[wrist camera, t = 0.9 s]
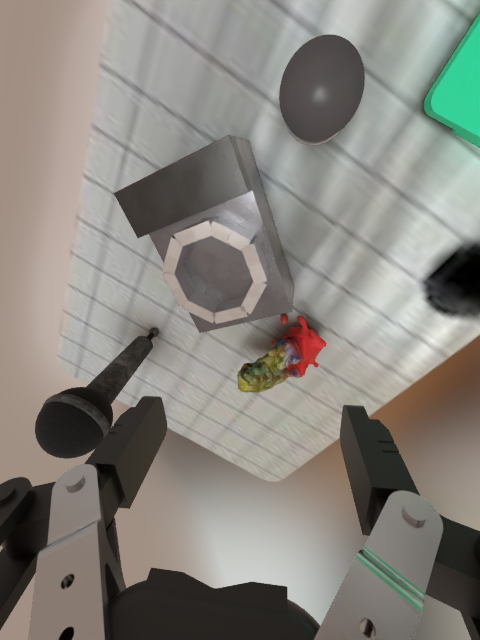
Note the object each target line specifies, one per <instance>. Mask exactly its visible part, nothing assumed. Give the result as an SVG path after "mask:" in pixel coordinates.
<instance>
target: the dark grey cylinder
mask: <svg viewBox="0 0 480 640" xmlns="http://www.w3.org/2000/svg"><path fill="white" fill-rule="evenodd" d="M364 78H365V76H364V67H363V63H362V60H361V57H360V55H359V53H358V51H357V49H356V48H355V47H354V46H353V45H352V44H351V43H350V42H349V41H348V40H346V39H345V38H343V37H340V36H337V35H322V36H319V37H316V38H314V39H312V40H310V41H308V42H307V43H305V44H304V45H303V46H302V47H301V48H299V50H298V51H297V52H296V53H295V54H294V55H293V57H292V58H291V60H290V61H289V63H288V65H287V67H286V69H285V71H284V74H283V77H282V81H281V85H280V96H279V100H280V108H281V113H282V116H283V118H284V120H285V122H286V125H287V127H288V130H289V131H290V133H291V134H292V136H293V137H294V138H295V139H296V140H297V141H299V142H301V143H303V144H306V145H319V144H323V143H325V142H327V141H329V140H330V139H332V138H333V137H334V136H335V135H337V133H338V132H339V131H340V130H341V129H342V128H344V127H345V125H346V124H347V123H348V122H349V121H350V120H351V118H352V117H353V115H354V114H355V112H356V110H357V108H358V106H359V104H360V101H361V98H362V94H363V89H364Z"/></svg>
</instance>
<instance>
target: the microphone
mask: <svg viewBox="0 0 480 640" xmlns="http://www.w3.org/2000/svg"><path fill="white" fill-rule="evenodd" d="M157 335H158V330H157V329H155V328H152V329H150V331H149V335H148V336H147V337H146V336H138V337H137V338H136V339H135V340H134V341H133V342H132V343H131V344H130V345H129V346H128V347H127V348H126V349H125V350H124V351H122V352H121V353H120V354H119V355H118V356H117V357H116V358H115V359H114V360H113V361H112V362H111V363H110V364H109V365H108V366H107V367H106V368H105V369H104V370H103V371H102V372H101V373H100V374H99V375H98V376H97V377H96V378H95V379H94V380H93V381H92V382H91V383H90V384H89V385H88V386H87V387H77V388H71V389H68V390H65V391H62V392H60V393H59V394H56V395H53V396H51V397H50V398H48V399H47V400H46V401H45V403H44V405H43V407H42V409H41V411H40V413H39V415H38V417H37V420H36V425H35V434H36V438H37V441H38V443H39V445H40V446H41V447H42V449H43V450H44V451H46V452H47V453H48V454H50V455H52V456H55V457H59V458H76V457H79V456H82V455H85V454H87V453H89V452H91V451H92V450H94V449H95V448H97V446H98V445H99V444H100V442H101V441H102V440H103V438H104V437H105V436H106V434H108V432H109V430H110V428H111V426H112V422H113V412H112V407H111V403H112V402H113V401H114V400H115V398H116V397H117V395H118V394H119V393H120V391H121V390H122V389H123V387H124V386H125V385H126V383H127V382H128V381H129V379H130V378H131V377H132V375H133V374H134V372H135V371H136V370H137V368H138V367H139V366H140V364H141V363H142V362H143V360H144V359H145V358H146V356H147V355H148V354H149V352H150V351H151V349H152V348H153V344H152V341H151V339H152V338H153V337H156V336H157Z"/></svg>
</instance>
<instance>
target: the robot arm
mask: <svg viewBox="0 0 480 640" xmlns="http://www.w3.org/2000/svg"><path fill="white" fill-rule="evenodd" d="M166 431H167V420H166V416H165V411H164V406H163V402H162V399H161V397H153V396H144V397H142V398H141V400H140V401H139V402H138V404H137V405H136V407H131V408H129V409H128V410H127V411H126V412H124V413H123V414H122V415H121V416H120V417H119V418H118V420H117V421H116V422H115V424H114V426H112V428H111V429H110V430H109V432H108V434H106V436H105V437H104V438H103V440H102V441H101V442H100V444H99V445H98V446H97V448H96V449H95V450H94V452H93V453H92V454H91V456H90V457H89V458H88V460H87V461H86V462H85V464H84V465H79V466H76V467H74V468H72V469H70V470H68V471H67V472H65V473H64V474H63V475H62V476H61V477H60V478H59V479H58V480H57V481H56V482H52V483H48V484H43V485H39V486H34V487H32V485H31V483H30V481H29V480H28V479H27V478H23V477H18V478H14V479H11V480H8V481H6V482H4V483H2V484H0V546H1V545H2V547H3V549H2V550H1V552H0V630H1V628H2V626H3V625H4V623H5V622H6V620H7V618H8V616H9V615H10V613H11V612H12V610H13V609H14V607H15V605H16V604H17V602H18V600H19V599H20V597H21V595H22V594H23V592H24V590H25V589H26V587H27V586H28V584H29V582H30V581H31V579H32V577H33V576H34V574H35V573H36V576H35V585H34V594H33V602H32V611H31V620H30V630H29V639H28V640H414V637H415V633H416V629H417V626H418V622H419V619H420V615H421V612H422V608H423V604H424V596H425V594H426V595H429V596H431V597H433V598H434V599H437V600H439V601H441V602H443V603H445V604H447V605H449V606H451V607H453V608H455V609H457V610H459V611H460V612H461V614H462V617H463V619H464V622H465V624H466V627H467V629H468V632H469V635H470V637H471V640H480V531H478V530H475V529H472V528H470V527H467V526H464V525H462V524H459V523H457V522H454V521H451V520H449V519H447V518H445V517H443V516H441V515H440V514H439V513H438V512H437V510H436V509H435V508H434V507H433V506H432V505H431V504H430V503H429V502H428V501H427V500H426V499H424V498H423V497H421V496H420V494H419V492H418V490H417V489H416V486H415V484H414V482H413V480H412V478H411V476H410V474H409V472H408V470H407V467H406V465H405V463H404V461H403V459H402V457H401V455H400V454H399V451H398V449H397V447H396V444H394V440H393V438H392V436H391V434H390V432H389V430H388V429H387V428H386V427H385V426H384V425H383V424H382V423H381V422H380V421H379V420H373V419H369V417H368V415H367V413H366V410H365V408H364V406H355V405H344V406H343V411H342V420H341V429H340V443H341V449H342V453H343V457H344V461H345V465H346V469H347V473H348V477H349V481H350V485H351V489H352V494H353V498H354V502H355V505H356V509H357V513H358V517H359V522H360V526H361V530H362V534H363V535H368V536H369V538H368V540H367V542H366V544H365V546H364V548H363V550H362V551H361V550H360V551H359V552H358V553H357V555H356V557H355V558H354V560H353V562H352V564H351V566H350V568H349V570H348V572H347V574H346V576H345V578H344V580H343V583H342V584H341V586H340V589H339V590H338V592H337V594H336V596H335V599H334V600H333V602H332V605H331V606H330V608H329V610H328V612H327V614H326V616H325V618H324V620H323V622H322V624H321V626H320V625H319V624H318V623H317V622H316V620H315V619H314V618H313V617H312V616H311V615H310V614H309V613H307V612H306V611H305V610H304V609H303V608H301V607H300V606H298V605H297V604H295V603H294V602H292V601H290V600H288V599H287V587H285V586H278V585H271V584H264V583H256V582H249V583H244V584H238V585H233V586H228V587H223V588H218V589H214V588H211V587H209V586H208V585H206V584H204V583H202V582H200V581H198V580H196V579H194V578H193V577H191V576H189V575H187V574H185V573H183V572H178V571H171V570H163V569H157V568H151V570H150V572H149V576H148V578H147V580H146V581H142V582H139V583H137V584H134V585H132V586H130V587H128V588H126V585H125V581H124V578H123V573H122V568H121V560H120V553H119V545H118V537H117V530H116V522H115V518H114V515H115V514H116V512H117V510H118V508H130V507H131V505H132V502H133V500H134V499H135V497H136V494H137V492H138V490H139V488H140V486H141V484H142V482H143V480H144V478H145V476H146V474H147V472H148V470H149V468H150V466H151V464H152V462H153V460H154V457H155V456H156V454H157V452H158V450H159V447H160V446H161V444H162V441H163V440H164V437H165V435H166Z"/></svg>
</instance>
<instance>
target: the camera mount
mask: <svg viewBox="0 0 480 640" xmlns="http://www.w3.org/2000/svg"><path fill="white" fill-rule="evenodd" d="M424 110H425V112H426V114H427V115H429V116H430V117H432V118H434V119H436V120H438V121H439V122H441V123H443V124H445V125H447V126H448V127H450V128H452V131H451V132H453V133H455V134H456V135H458V136H460V137H462V138H464V139H466V140H467V141H469V142H471V143H473V144H475V145H476V146H478V147H480V13H479V14H478V16H477V17H476V19H475V21H474V22H473V24H472V25H471V27H470V28H469V30H468V31H467V33H466V35H465V36H464V38H463V39H462V41H461V42H460V44H459V46H458V47H457V49H456V50H455V52H454V53H453V55H452V56H451V58H450V60H449V61H448V63H447V64H446V66H445V67H444V69H443V70H442V72H441V74H440V75H439V77H438V78H437V80H436V81H435V83H434V84H433V86H432V88H431V89H430V91H429V92H428V94H427V96H426V98H425V101H424Z"/></svg>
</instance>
